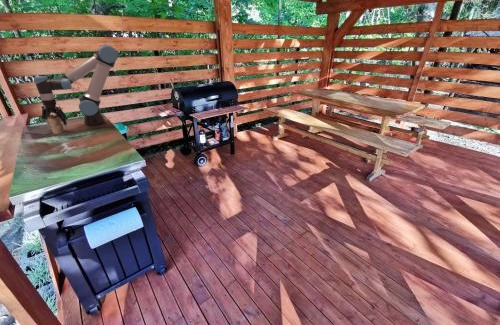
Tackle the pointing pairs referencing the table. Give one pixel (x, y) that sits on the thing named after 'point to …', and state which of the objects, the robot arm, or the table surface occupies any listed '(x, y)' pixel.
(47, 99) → the robot arm
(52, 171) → the table surface
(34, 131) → the mat
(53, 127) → the slab
